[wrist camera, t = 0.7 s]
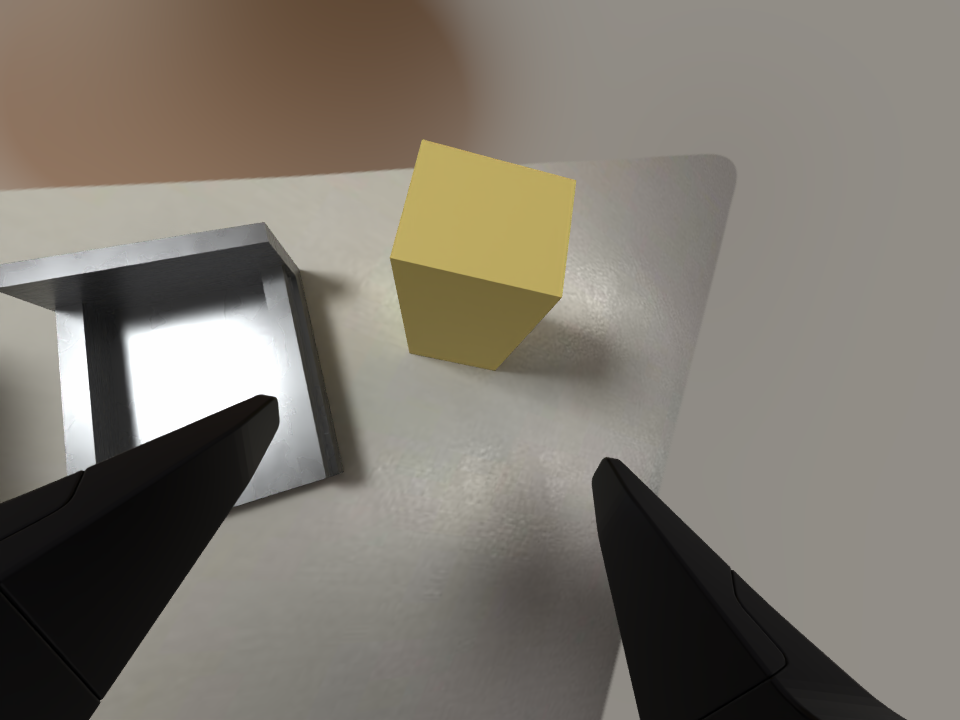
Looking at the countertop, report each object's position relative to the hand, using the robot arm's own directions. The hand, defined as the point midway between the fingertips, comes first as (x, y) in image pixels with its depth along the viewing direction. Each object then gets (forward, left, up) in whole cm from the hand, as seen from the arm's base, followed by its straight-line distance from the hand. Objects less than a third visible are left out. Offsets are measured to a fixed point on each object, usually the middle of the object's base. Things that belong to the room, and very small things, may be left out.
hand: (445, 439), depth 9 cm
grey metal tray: (+10, +10, -13) cm, 19 cm away
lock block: (+6, -5, -13) cm, 16 cm away
